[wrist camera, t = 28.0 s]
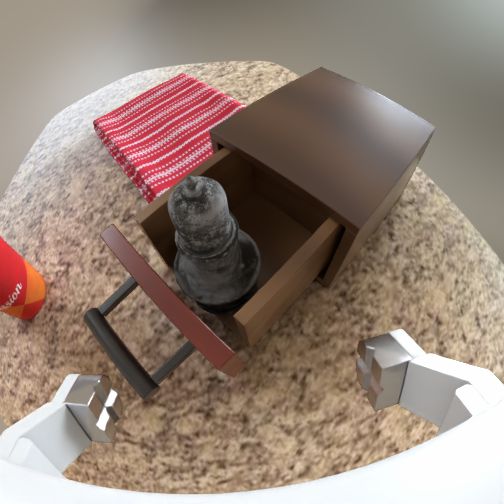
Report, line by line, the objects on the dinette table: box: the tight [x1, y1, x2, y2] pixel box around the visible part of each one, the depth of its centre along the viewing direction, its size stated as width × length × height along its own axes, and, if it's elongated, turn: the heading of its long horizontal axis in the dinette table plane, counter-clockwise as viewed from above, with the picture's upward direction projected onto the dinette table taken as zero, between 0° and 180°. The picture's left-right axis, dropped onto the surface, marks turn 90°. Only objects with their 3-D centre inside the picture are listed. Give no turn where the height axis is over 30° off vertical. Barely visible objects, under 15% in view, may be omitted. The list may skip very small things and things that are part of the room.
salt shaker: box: [168, 176, 261, 315], centre depth 17 cm, size 6×6×12 cm
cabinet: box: [209, 67, 436, 289], centre depth 24 cm, size 15×13×10 cm
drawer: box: [84, 147, 346, 400], centre depth 20 cm, size 18×11×8 cm, turn 137°
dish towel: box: [93, 73, 247, 204], centre depth 33 cm, size 17×24×3 cm
